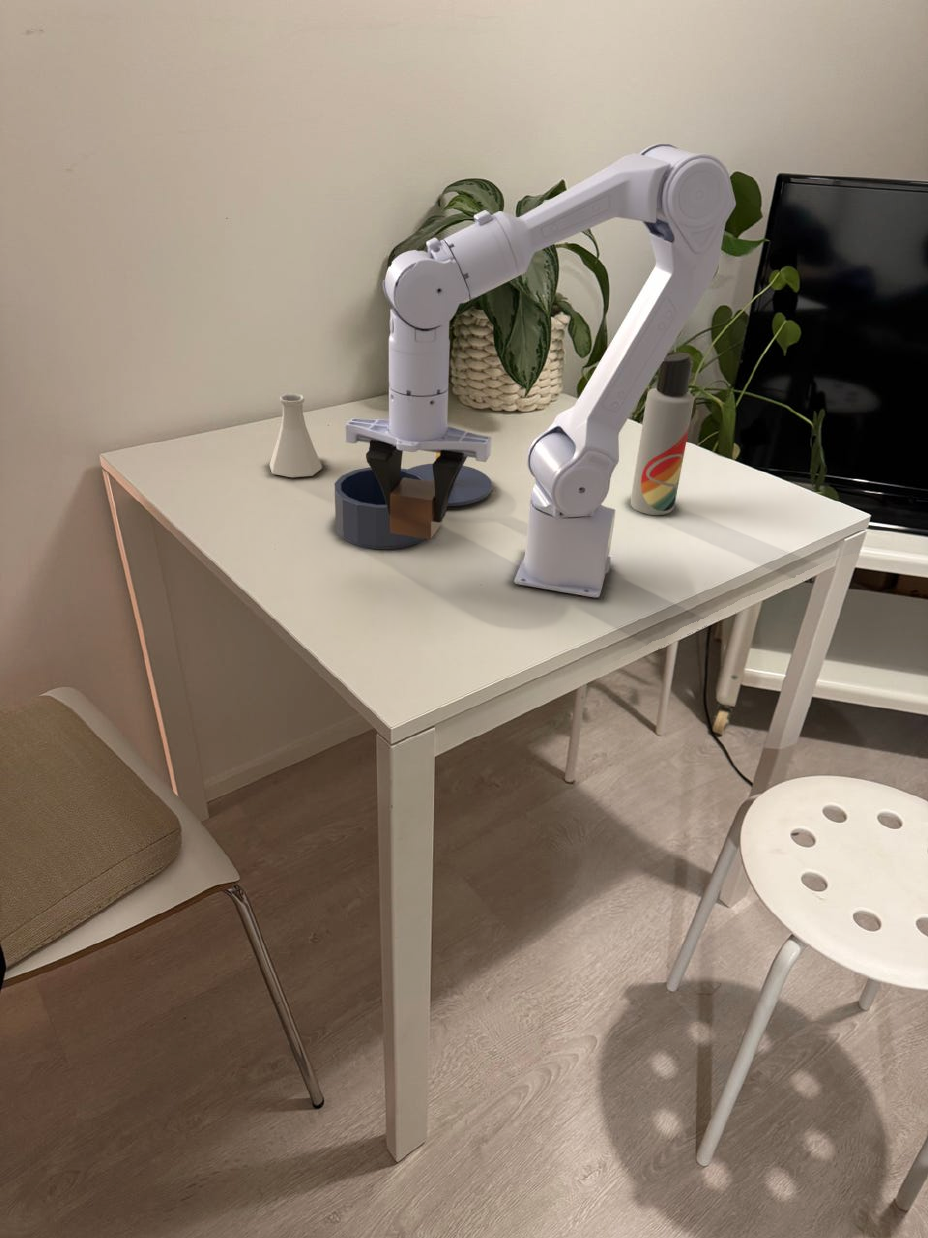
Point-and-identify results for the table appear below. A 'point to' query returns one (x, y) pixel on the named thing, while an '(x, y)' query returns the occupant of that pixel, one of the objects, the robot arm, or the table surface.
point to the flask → (294, 442)
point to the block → (413, 509)
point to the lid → (462, 484)
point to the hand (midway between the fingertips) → (416, 514)
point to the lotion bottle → (663, 437)
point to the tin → (367, 511)
